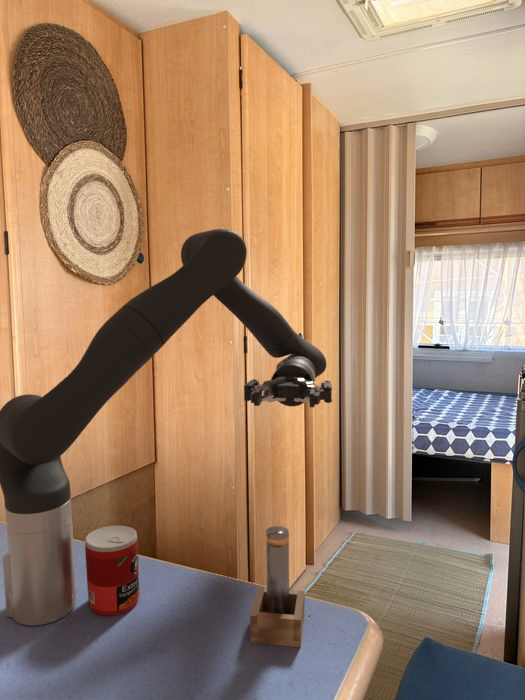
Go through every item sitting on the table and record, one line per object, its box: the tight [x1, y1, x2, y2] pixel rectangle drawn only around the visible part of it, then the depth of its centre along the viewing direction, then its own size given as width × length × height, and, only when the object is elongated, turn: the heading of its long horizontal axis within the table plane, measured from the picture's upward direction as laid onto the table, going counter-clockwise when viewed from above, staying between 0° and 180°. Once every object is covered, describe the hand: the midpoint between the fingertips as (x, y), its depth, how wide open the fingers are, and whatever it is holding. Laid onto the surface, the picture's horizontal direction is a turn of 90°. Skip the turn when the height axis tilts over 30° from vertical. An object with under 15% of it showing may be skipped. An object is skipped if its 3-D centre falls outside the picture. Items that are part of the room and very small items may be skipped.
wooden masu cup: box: [249, 587, 306, 648], centre depth 77 cm, size 7×7×4 cm
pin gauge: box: [265, 525, 290, 615], centre depth 76 cm, size 3×3×14 cm
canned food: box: [84, 525, 140, 617], centre depth 84 cm, size 8×8×11 cm
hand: (283, 400), depth 81 cm, fingers open, 8 cm apart
